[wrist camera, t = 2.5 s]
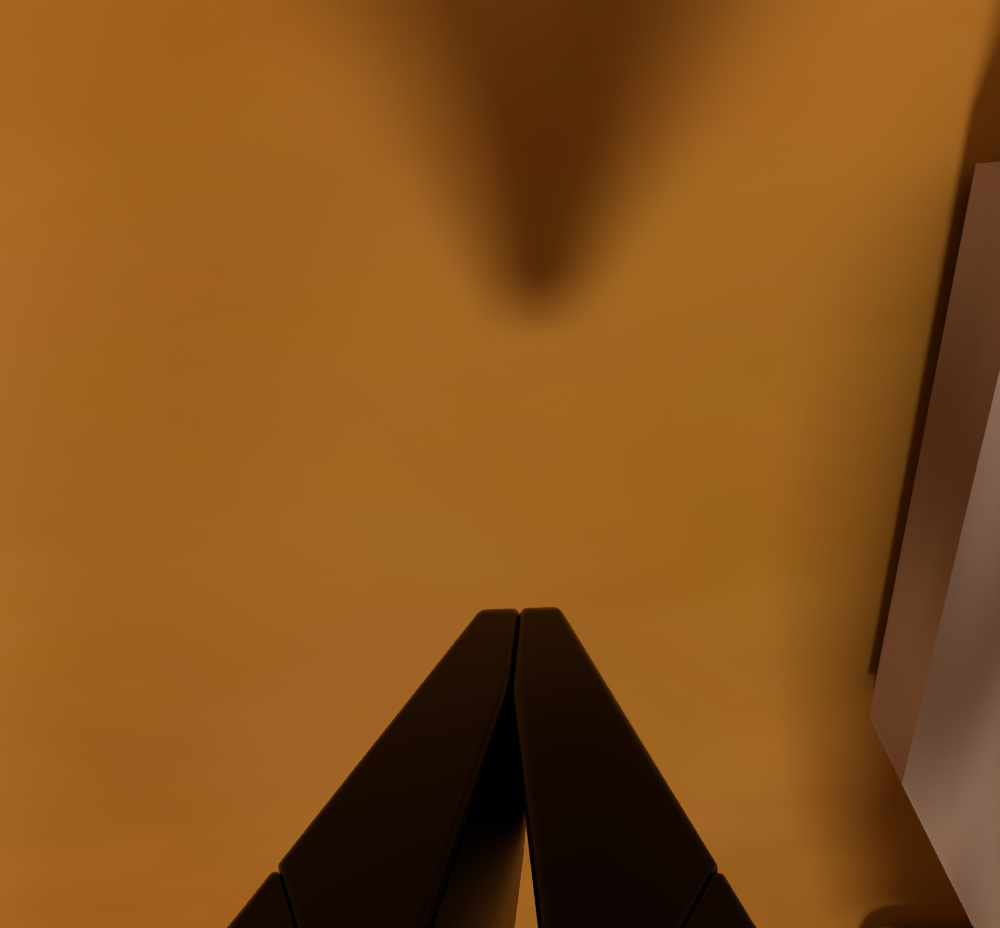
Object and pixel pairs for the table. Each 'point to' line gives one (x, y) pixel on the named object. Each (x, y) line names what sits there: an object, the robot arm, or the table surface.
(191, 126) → the table surface
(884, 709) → the l-shaped bracket
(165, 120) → the table surface
